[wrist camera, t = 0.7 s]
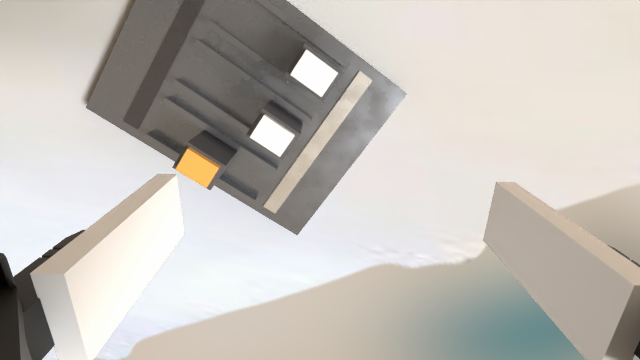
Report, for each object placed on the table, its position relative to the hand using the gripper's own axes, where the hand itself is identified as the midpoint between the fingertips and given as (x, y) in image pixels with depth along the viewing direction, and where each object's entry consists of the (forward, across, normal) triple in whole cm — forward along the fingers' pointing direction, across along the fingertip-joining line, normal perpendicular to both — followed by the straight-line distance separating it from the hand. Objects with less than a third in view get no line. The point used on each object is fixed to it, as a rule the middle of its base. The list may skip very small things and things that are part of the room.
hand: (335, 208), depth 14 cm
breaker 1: (+22, -12, -4) cm, 26 cm away
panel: (+24, -8, +1) cm, 25 cm away
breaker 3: (+22, -1, +4) cm, 23 cm away
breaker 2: (+22, -5, -1) cm, 23 cm away
